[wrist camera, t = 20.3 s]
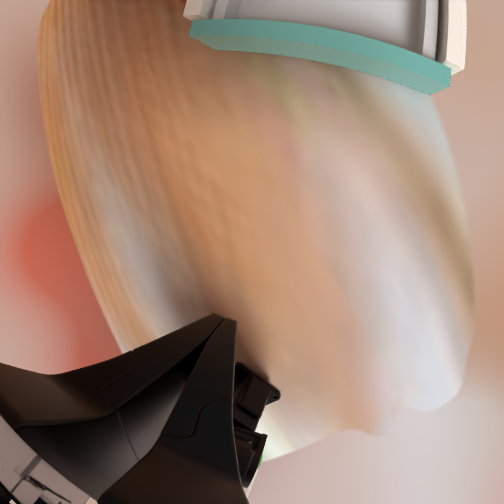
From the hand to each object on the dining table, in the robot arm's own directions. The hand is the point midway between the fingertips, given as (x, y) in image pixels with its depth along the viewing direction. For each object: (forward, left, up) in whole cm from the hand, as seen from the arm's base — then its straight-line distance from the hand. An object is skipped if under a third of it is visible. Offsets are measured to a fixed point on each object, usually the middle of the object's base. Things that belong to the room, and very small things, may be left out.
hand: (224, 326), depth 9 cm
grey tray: (+17, +10, -12) cm, 23 cm away
